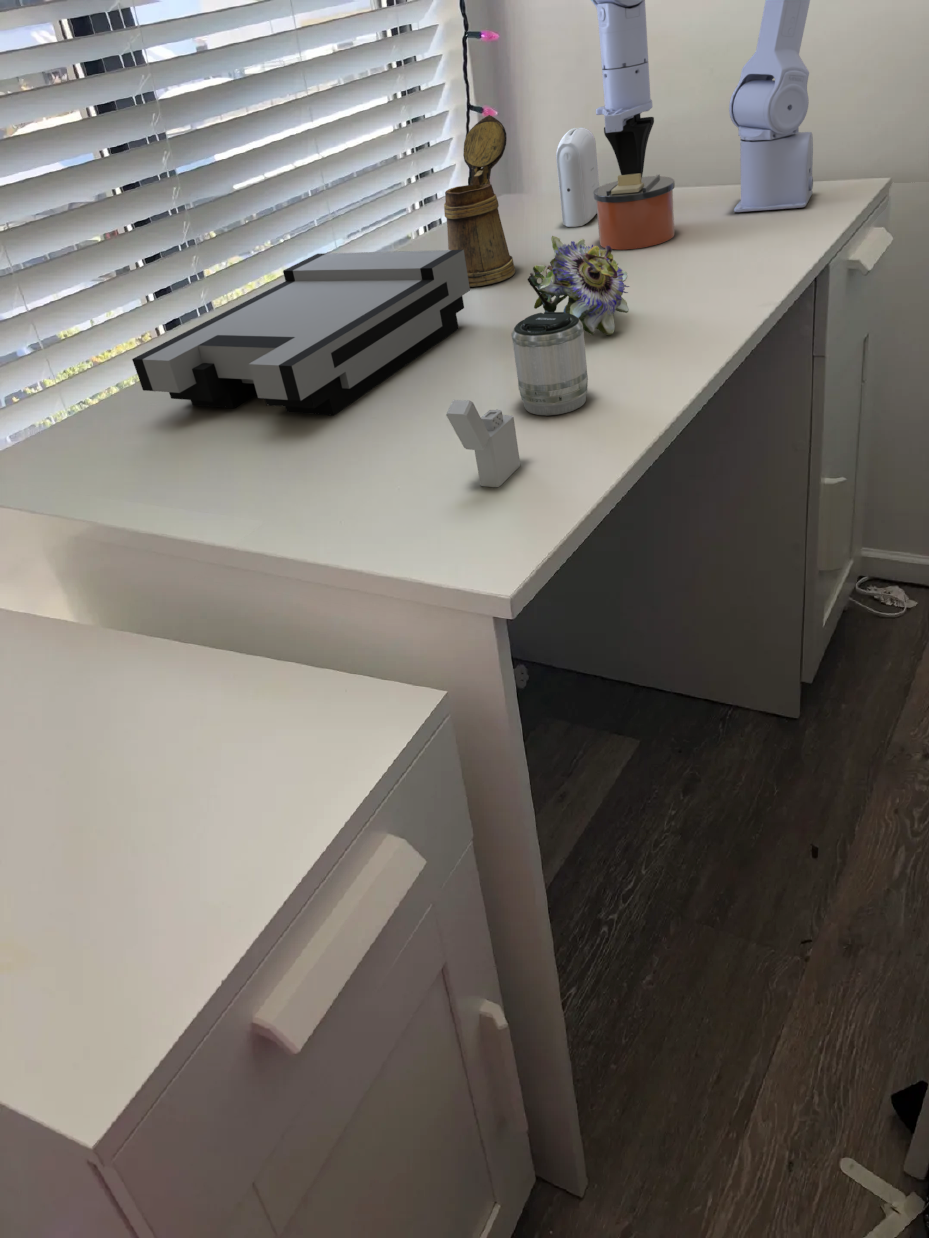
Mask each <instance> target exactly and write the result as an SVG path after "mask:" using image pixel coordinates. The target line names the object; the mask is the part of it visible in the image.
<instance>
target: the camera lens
mask: <svg viewBox="0 0 929 1238" xmlns="http://www.w3.org/2000/svg"><path fill="white" fill-rule="evenodd" d="M511 340H512V347H513V354H514V362H515V369H516V370H515V371H516V375H517V376H516V378H517V386H518V391H519V395H520V398H521V401H522V402H523V406H524V409H525V410H526V412H528V413H530V414H533V415H537V416H546V417H547V416H556V415H557V416H558V415H563V414H568V413H570V412H574V411H575V410H578V409H579V408H581V407H582V406H584V405H585V403H586V401H587V393H588V385H589V381H588V380H589V375H588V367H587V366H588V365H587V364H588V363H587V356H586V345H585V344H586V343H585V333H584V329H583V324H582V322H581V321H580V319H579V318H578V317H576V316H574V315H572V314H568V313H564V312H563V311H555V312H545V311H544V312H543V313H542V312H537V313H534V314H532V315H528V316H527V317H525V318H524V319H522V320H520V321H519V322H518V323H517V324H516V325H515V326H514V327H513V329H512V332H511Z"/></svg>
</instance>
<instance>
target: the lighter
mask: <svg viewBox="0 0 929 1238" xmlns="http://www.w3.org/2000/svg"><path fill="white" fill-rule="evenodd" d="M445 416H446V417H447V420H448V421H449V423H450V425H451V427H452V428H453V430H454V433H455V434H456V436H457V437H458V438H457V439H459V441H460V443H461V445H462V447H463V448H464V449H465V450H471V451H474V455H475V462H476V466H477V472H478V480H479V485H480V486H481V487H488V488H499V487H501V486H502V485H503V484H504V483H505V482H506V481H507V480H508V479H509V478H510V477H511V476H512V475H513V474H514V473H515V472H516V471H517V470H518V469H519V468H520V467H521V459H520V452H519V445H518V439H517V431H516V424H515V418H514V415H512V414H503V410H501V409H498V408H496V409H489V410H487V411H486V412H485V413H484V414H483V415H482V416H481V415H480V414H479V412H478V410H477V408H476V405H475V404H474V402H473V401H472V400H469V399H453V400H452V401H451V403H450V405H449V408H448V410H447V412H446V414H445Z"/></svg>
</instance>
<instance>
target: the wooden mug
mask: <svg viewBox="0 0 929 1238" xmlns="http://www.w3.org/2000/svg"><path fill="white" fill-rule="evenodd" d="M507 140H508V139H507V131H506V128H505V126H504V125H503V123H502V122H501V121H500V120H499V119H497V118H496V117H494V116H492V115H491V114H488V115H486V116H485V117H482V119H480V120H479V121H478V122H476V123H475V124H474V125H473V126H472V128H470V129H469V131H468V132H467V134H466V136H465V139H464V142H463V161H464V163H465V165H467V167H468V169H470V171H471V176H470V177H471V178H470V183H469V184H468V185H467V184H466V185H460V186H454V187H451V188H448V189H447V190H445V192H444V196H445V199H444V200H445V202H444V203H443V209H444V210H443V212H444V213H443V214H444V217H445V219H446V229H447V231H446V232H447V247H448V249H447V250H464V255H465V261H466V268H467V274H468V281H469V287H470V288H476V287H482V286H487V285H493V284H496V283H500V282H503V281H505V280H508V279H509V278H511V277H512V276H513V275H515V274H516V268H515V263H514V259H513V256H512V255H511V254H510V251H509V247H508V244H507V240H506V235H505V231H504V229H503V224H502V220H501V216H500V211H499V206H500V205H499V200H498V197H497V194H496V193H495V192H494V188H493V185H492V183H491V175H492V174H491V173H492V169H493V168H494V167H495V166H496V165H497V164H498V163H499V161H500V160H501V159H502V157H503V155H504V152H505V150H506V148H507V147H506V146H507Z"/></svg>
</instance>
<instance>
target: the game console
mask: <svg viewBox="0 0 929 1238" xmlns="http://www.w3.org/2000/svg"><path fill="white" fill-rule="evenodd" d="M282 273H283V277H284V281H283V282H280V283H279V284H277V285H275V286H273V287H272V288H269V289H267V290H265V291H264V292H261V293H259V294H258V295H256V296H254V297H251V298H250V299H248V300H246V301H244V302H242V303H239V304H238V305H235V306H234V307H232V308H230V309H228V310H226V311H224V312H222V313H220V314H218V315H216V316H214V317H212V318H209V319H208V320H206V321H204V322H202V323H200V324H197V325H196V326H194V327H192V328H190V329H188V330H186V331H185V332H184V331H183V332H182V333H181V334H178V335H176V336H174V337H173V338H171V339H168V340H166V341H165V342H163V343H161V344H159V345H157V346H155V347H153V348H151V349H149V350H147V351H145V352H143V353H141V354H139V355H137V356H135V357H133V358H132V359H131V361H132V363H133V366H134V368H135V371H136V375H137V378H138V380H139V384H140V386H141V388H142V391H145V392H161V393H169V396H170V399H171V400H185V401H187V400H188V401H190V403H191V406H198V407H210V408H223V409H224V408H225V409H235V408H237V407H239V406H240V405H241V404H244V403H245V402H247V401H248V400H250V399H251V398H254V397H255V396H257V399H264V401H265V404H266V406H272V407H284V408H285V413H290V414H291V413H293V414H303V415H317V416H319V415H320V416H330V417H331V416H333V417H334V416H335V415H337V414H338V413H340V412H341V411H343V410H344V409H345V408H348V407H349V406H350V405H351V404H353V403H354V402H355V401H357V400H359V399H360V398H361V397H363V396H364V395H365V394H367V393H368V392H370V391H372V390H373V389H374V388H376V387H377V386H379V385H381V383H383V382H384V381H386V380H387V379H389V378H390V377H392V376H393V375H394V374H396V373H397V372H399V371H400V370H402V369H403V368H405V367H406V366H408V365H409V364H410V363H412V362H413V361H415V360H416V359H418V358H419V357H421V356H422V355H423V354H425V353H426V352H428V351H429V350H430V349H432V348H434V347H435V346H436V345H438V344H439V343H440V342H442V341H443V340H445V339H446V338H448V337H450V336H451V335H452V334H454V333H455V332H456V331H459V323H458V318H457V317H458V316H457V313H459V312H461V311H462V310H464V309H465V304H464V297H463V296H464V295H465V294H467V293H468V292H470V291H471V287H469V281H468V274H467V268H466V261H465V255H464V250H448V249H441V250H440V249H435V250H403V251H401V250H400V251H397V250H396V251H367V252H365V251H364V252H331V253H330V252H328V253H327V252H325V253H324V252H323V253H316V254H313V255H312V256H310V257H308V258H306V259H304V260H302V261H299V262H298V263H295V264H294V265H292V266H289V267H287V268H285V269H283V270H282Z"/></svg>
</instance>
